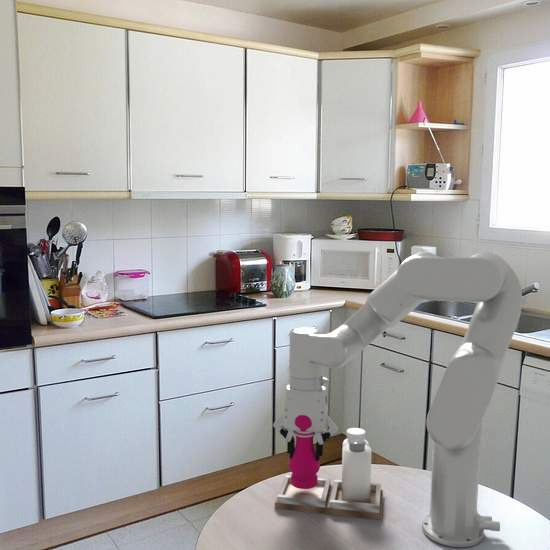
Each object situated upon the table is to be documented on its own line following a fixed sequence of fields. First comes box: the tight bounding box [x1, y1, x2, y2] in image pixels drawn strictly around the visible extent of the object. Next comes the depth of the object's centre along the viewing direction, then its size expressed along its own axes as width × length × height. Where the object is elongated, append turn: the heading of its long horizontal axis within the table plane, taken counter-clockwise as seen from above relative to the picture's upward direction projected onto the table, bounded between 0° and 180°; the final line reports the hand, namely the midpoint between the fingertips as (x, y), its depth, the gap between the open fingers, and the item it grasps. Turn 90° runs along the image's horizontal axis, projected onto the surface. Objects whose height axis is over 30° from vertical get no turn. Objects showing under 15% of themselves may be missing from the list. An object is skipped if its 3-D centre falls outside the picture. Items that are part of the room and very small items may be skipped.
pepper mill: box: [288, 415, 321, 489], centre depth 145 cm, size 7×7×20 cm
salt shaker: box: [341, 439, 372, 503], centre depth 144 cm, size 7×7×14 cm
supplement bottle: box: [342, 427, 370, 448], centre depth 157 cm, size 7×7×13 cm
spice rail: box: [274, 474, 384, 520], centre depth 146 cm, size 24×11×3 cm, turn 79°
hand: (305, 456), depth 146 cm, fingers closed on pepper mill, 5 cm apart
